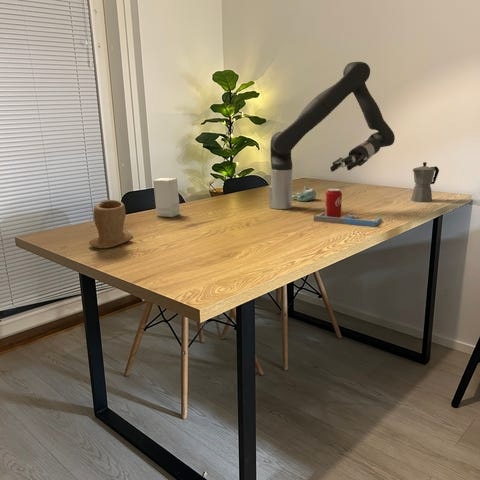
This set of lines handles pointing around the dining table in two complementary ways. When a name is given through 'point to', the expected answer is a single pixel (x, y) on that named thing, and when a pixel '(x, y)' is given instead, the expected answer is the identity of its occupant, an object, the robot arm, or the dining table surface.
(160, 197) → the skincare box
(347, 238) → the dining table surface
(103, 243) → the brown hollow piece
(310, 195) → the stuffed animal
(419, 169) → the coffeepot
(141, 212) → the dining table surface
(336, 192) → the beverage can
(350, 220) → the e-shaped bracket
